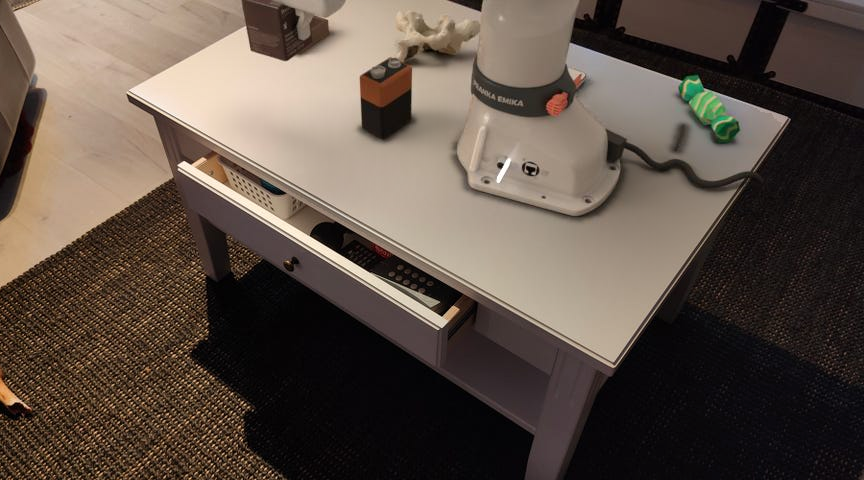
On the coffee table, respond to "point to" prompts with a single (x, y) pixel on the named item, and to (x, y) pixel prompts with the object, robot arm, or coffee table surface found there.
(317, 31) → the tray
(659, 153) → the coffee table surface
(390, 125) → the battery
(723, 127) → the candy
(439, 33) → the decorative object
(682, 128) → the stick
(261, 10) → the box
